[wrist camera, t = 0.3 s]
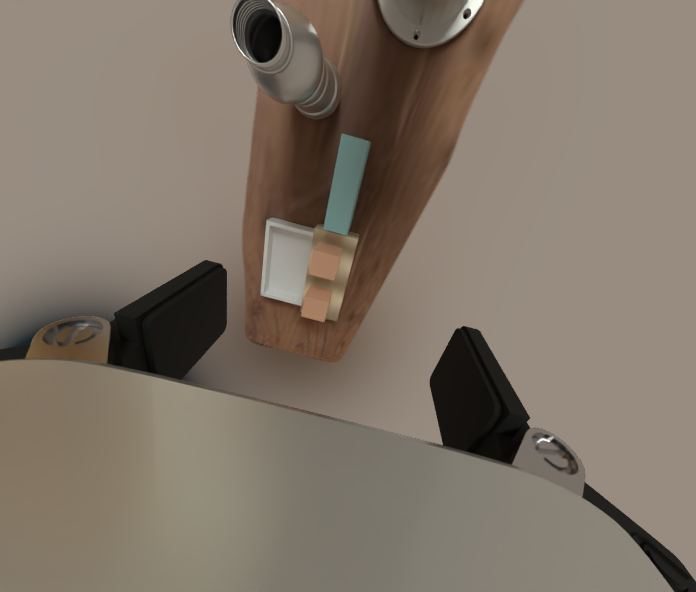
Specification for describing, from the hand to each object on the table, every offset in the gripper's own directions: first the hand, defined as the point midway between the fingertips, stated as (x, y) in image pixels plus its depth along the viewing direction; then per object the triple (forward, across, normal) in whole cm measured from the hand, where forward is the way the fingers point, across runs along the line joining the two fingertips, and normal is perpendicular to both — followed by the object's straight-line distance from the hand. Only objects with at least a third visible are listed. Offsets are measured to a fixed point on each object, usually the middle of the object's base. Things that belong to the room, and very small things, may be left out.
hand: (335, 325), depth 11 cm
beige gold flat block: (+34, +4, +13) cm, 37 cm away
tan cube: (+31, +4, +9) cm, 33 cm away
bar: (+34, +4, -2) cm, 35 cm away
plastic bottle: (+34, +10, -12) cm, 38 cm away
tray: (+34, +11, +13) cm, 38 cm away
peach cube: (+31, +4, +17) cm, 36 cm away
